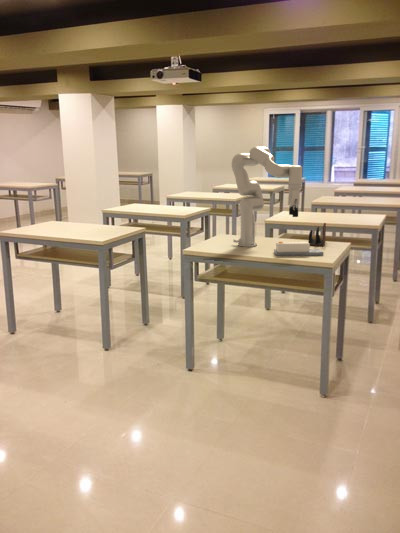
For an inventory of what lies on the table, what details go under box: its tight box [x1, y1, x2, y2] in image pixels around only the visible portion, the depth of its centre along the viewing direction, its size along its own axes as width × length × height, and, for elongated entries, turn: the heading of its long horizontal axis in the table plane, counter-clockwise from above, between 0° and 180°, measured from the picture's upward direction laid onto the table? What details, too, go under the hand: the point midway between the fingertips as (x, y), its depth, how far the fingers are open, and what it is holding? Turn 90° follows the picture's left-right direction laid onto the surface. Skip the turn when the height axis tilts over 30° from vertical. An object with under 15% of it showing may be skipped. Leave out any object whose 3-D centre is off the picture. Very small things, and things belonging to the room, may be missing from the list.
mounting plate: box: [273, 248, 325, 257], centre depth 296 cm, size 28×10×4 cm, turn 92°
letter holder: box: [307, 222, 327, 247], centre depth 328 cm, size 10×20×14 cm, turn 162°
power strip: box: [275, 241, 311, 252], centre depth 295 cm, size 19×6×6 cm, turn 92°
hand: (293, 215), depth 292 cm, fingers open, 9 cm apart
